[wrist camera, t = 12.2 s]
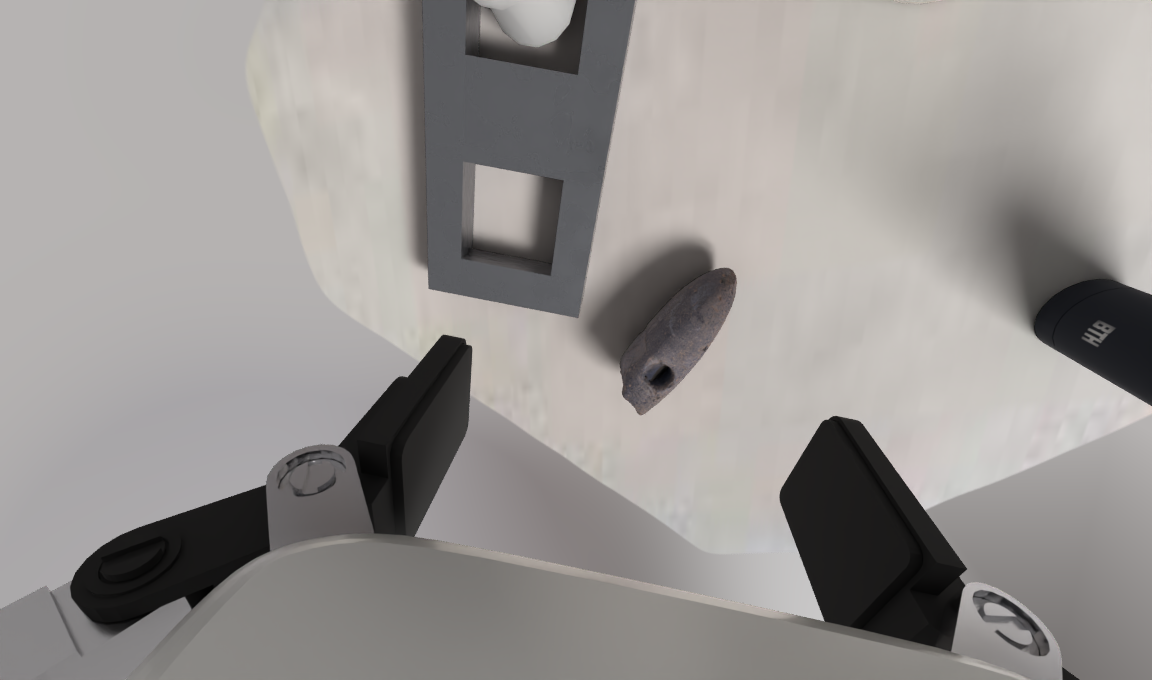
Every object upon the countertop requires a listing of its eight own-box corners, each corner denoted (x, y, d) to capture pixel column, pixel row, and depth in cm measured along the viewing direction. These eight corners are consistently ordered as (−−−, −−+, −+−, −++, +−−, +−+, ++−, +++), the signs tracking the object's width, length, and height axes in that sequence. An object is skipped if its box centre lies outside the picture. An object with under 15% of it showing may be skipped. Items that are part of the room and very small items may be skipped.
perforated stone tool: (704, 243, 37) (719, 271, 31) (750, 277, 38) (772, 309, 32) (606, 359, 44) (601, 400, 38) (646, 385, 45) (648, 428, 39)
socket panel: (660, -132, 26) (663, -161, 23) (581, 304, 41) (577, 319, 38) (439, -169, 26) (415, -202, 23) (441, 277, 41) (427, 289, 38)
